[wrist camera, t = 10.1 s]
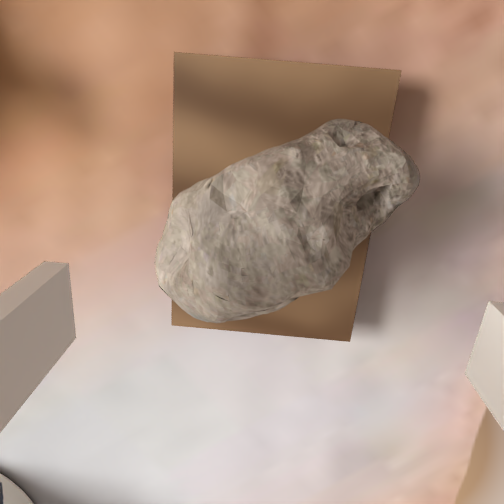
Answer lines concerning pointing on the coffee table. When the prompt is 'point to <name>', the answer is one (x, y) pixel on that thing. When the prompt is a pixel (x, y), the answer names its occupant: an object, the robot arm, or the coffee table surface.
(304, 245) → the stone
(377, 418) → the coffee table surface
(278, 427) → the coffee table surface
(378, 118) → the stand
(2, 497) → the planter
